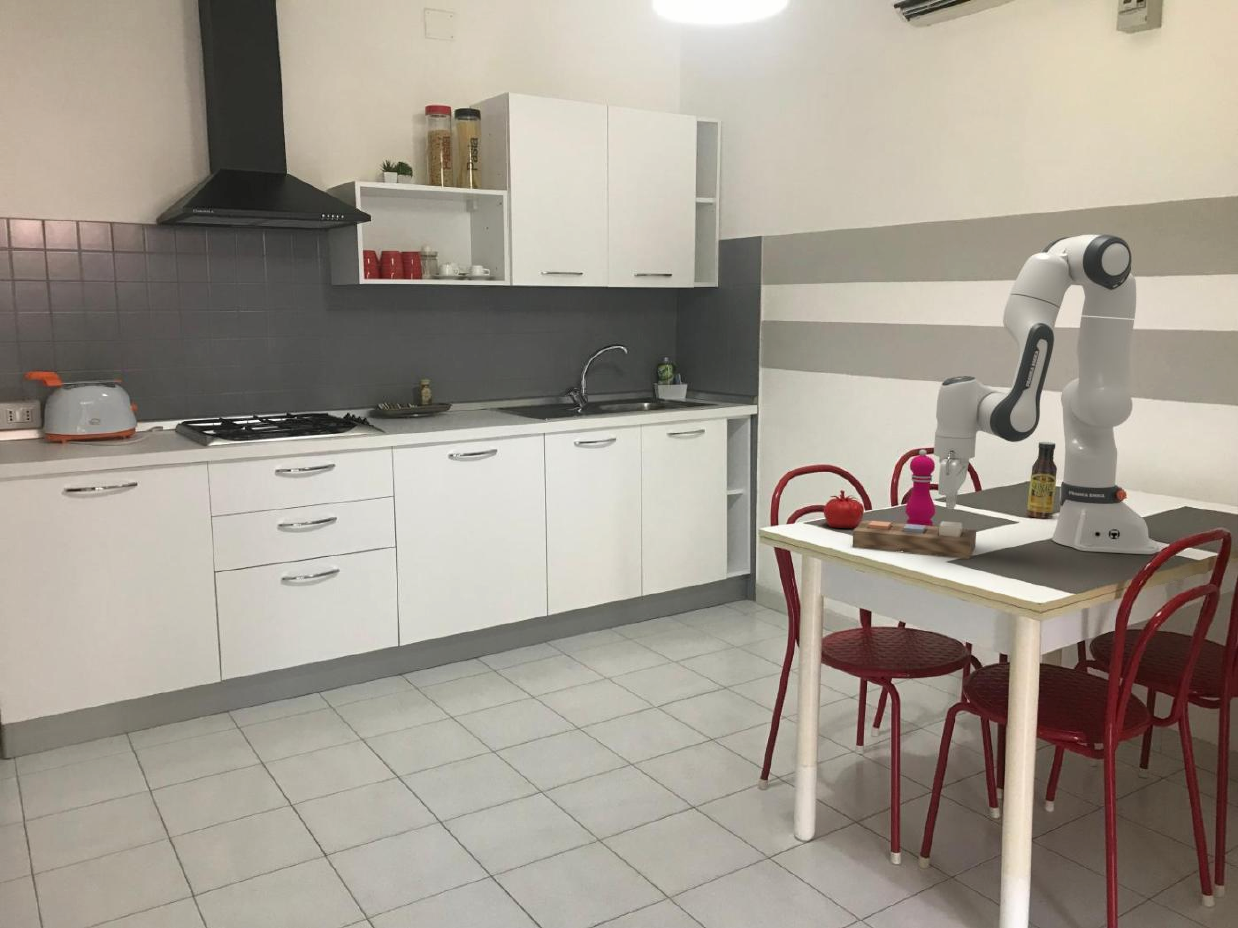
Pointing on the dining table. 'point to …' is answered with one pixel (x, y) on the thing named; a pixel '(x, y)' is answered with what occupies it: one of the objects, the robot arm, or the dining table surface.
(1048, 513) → the sauce bottle
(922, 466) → the pepper mill
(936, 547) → the button panel
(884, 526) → the terracotta button
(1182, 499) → the dining table surface
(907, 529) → the slate button
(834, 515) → the red tomato
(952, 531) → the cream button
